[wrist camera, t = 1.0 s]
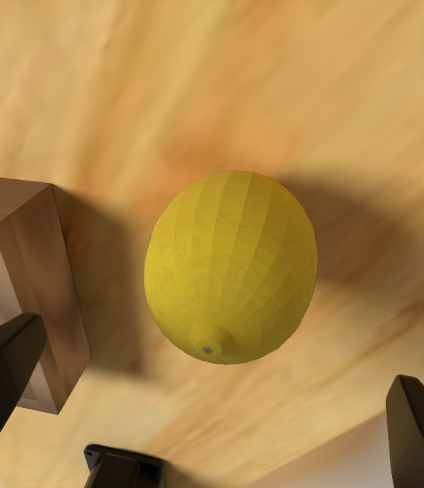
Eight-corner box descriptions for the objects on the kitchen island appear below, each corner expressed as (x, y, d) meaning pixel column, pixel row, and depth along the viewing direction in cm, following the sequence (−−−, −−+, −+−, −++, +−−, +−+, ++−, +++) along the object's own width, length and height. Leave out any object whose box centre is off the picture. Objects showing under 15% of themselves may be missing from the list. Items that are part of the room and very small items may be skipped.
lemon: (302, 125, 14) (302, 244, 7) (322, 250, 16) (336, 420, 10) (165, 156, 15) (64, 275, 9) (204, 265, 18) (148, 418, 12)
